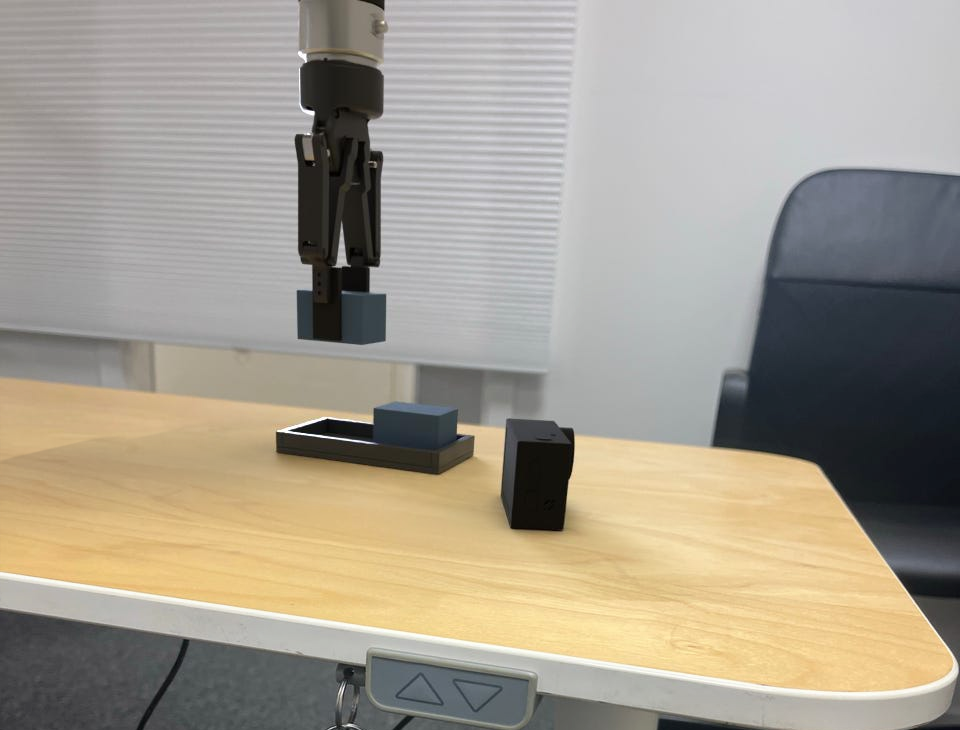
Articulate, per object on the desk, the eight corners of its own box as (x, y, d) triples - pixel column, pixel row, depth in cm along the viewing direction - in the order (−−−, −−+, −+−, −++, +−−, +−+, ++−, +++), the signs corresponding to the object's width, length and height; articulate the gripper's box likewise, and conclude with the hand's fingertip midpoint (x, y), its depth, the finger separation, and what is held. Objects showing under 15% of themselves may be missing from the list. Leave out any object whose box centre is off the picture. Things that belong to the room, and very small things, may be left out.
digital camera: (578, 532, 73) (588, 443, 70) (510, 529, 72) (517, 439, 70) (560, 499, 82) (568, 420, 80) (500, 496, 82) (506, 416, 79)
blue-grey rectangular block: (297, 339, 90) (296, 289, 88) (323, 335, 95) (323, 288, 93) (362, 345, 88) (362, 295, 86) (386, 341, 93) (386, 293, 91)
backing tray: (275, 452, 93) (275, 431, 92) (324, 435, 102) (324, 416, 102) (438, 474, 88) (439, 452, 88) (473, 455, 98) (474, 435, 97)
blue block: (372, 453, 93) (373, 407, 91) (393, 444, 97) (395, 401, 96) (437, 462, 91) (439, 415, 89) (456, 452, 96) (458, 408, 94)
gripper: (332, 42, 73) (333, 347, 82) (419, 84, 89) (412, 335, 98) (249, 42, 75) (259, 340, 84) (349, 83, 91) (348, 329, 100)
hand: (341, 336), depth 91 cm, fingers closed on blue-grey rectangular block, 5 cm apart
